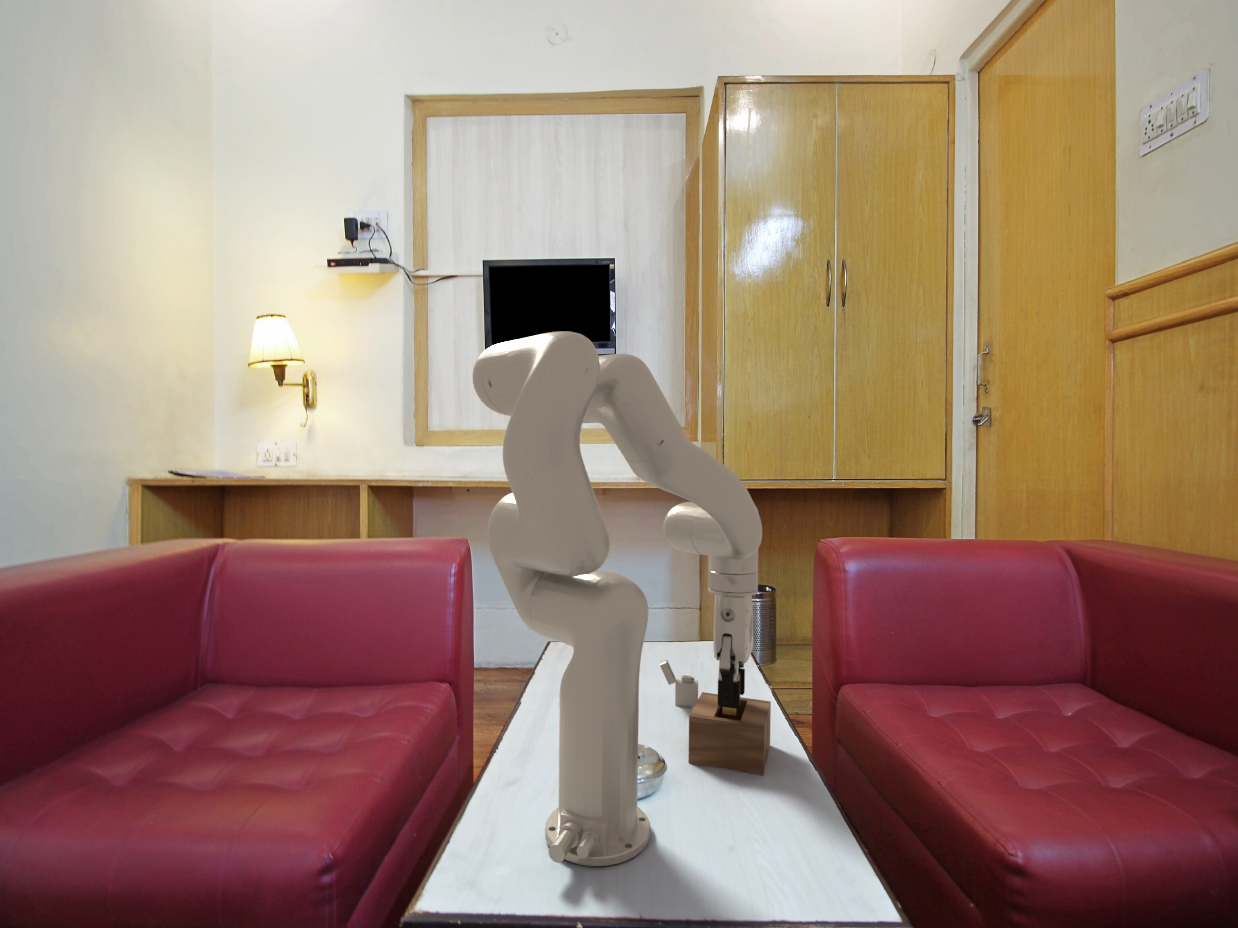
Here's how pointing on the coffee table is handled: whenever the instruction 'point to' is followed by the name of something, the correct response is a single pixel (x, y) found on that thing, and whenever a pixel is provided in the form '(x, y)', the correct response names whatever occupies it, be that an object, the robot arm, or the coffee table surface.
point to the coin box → (730, 735)
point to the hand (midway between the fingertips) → (731, 698)
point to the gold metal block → (731, 710)
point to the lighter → (681, 686)
